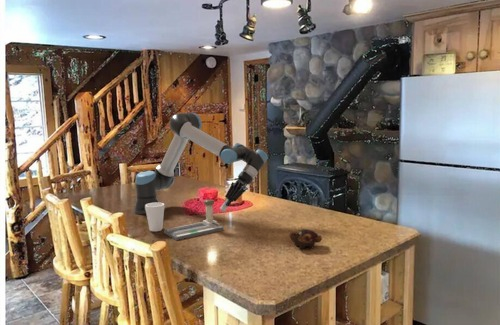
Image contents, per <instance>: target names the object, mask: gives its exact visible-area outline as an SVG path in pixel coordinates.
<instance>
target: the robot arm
mask: <svg viewBox="0 0 500 325" xmlns="http://www.w3.org/2000/svg"><path fill="white" fill-rule="evenodd" d="M202 125H203V122H202V119H201V117H200V115H198V114H197V113H194V112H179V113H178V112H177V113H175V114H173V115H172V116H171V118H170V119H169V129H170V130H171V132H172V133H173V134H174V135H173V138H172V140H171V142H170V144H169V146H168V148H167V150H166V152H165V154H164V156H163V159H162V161H161V162H160V164H158V165H157V166H156V168H155V170H154V171H153V170H147V171H141V172H138V173H137V174H135V190H136V191H135V193H136V194H135V195H136V200H135V205H134V207H133V210H134V212H133V213H135V214H137V215H138V214H139V215H147V214H146V210H145V205H146V204H149V203H156V202H157V203H160V202H159V200H158V197H157V192H158V191H159V192H160V191H163V190H167V189H169V188H170V187H172V186H173V185H174V182H175V172H174V170H175V168H176V166H177V164H178V162H179V160H180V158H181V156H182V154H183V152H184V150H185V148H186V146H187V144H188V143H189V142H188V141H191V142H192V143H194V144H196V145H198V146H200V147H201V148H203V149H205V150H207V151H208V152H210V153H212V154H214V155H216V156H217V157H218V158H220V160H221V161H222V162H223V163H224V164H233V163H235V162H241V161H243V162H245V163H246V164H245V166H244V167H243V169H242V170H241V171H240V173H239V174H238V176H237V178H238V179H237V180H236V181H235V182H233V181H232V182H231V183H230V187H229V189H228V190H227V192H226V194H225V196H224V197H225V200H224V202H223V203H222V205H221V206H220V207H219V210H221V211H222V212H223V213H225V212H226V210H227V209H228V208H229V207H230V206H231V204H232V203H233V202H236V201H238V200H239V198H241V196H243V194H244V193H245V192H246V191H247V190H248V189H249V187H248V185H250V184H251V183H252V182H253V180H254V179H255V177H256V176H257V175H258V173H259V171H260V170H261V169H262V168H263V166H264V164H265V163H266V162H267V160H268V158H269V157H268V156H269V155H268V154H267V153H266V152H265V151H263V150H262V149H257V150H256V151H254V150H252V149H251V148H248V147H247V146H245V145H243V144H241V143H239V142H236V143H235V144H234V145H233V146H230V145H228V144H226V143H225V142H223V141H221V140H219V139H217V138H215V137H213V136H212V135H210V134H208V133H206V132H204V131H203V130H201V129H202Z"/></svg>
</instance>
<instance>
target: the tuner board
mask: <svg viewBox="0 0 500 325" xmlns="http://www.w3.org/2000/svg"><path fill="white" fill-rule="evenodd" d="M217 225H218V226H216V225H214V224H213V225H208V226H205V225H203V221H202V222H196V223H191V224H186V225H181V226H176V227H171V228H167V229H164V230H163V233H164V234H165V235H167V236H168V237H170V238H171V237H172V238H171V239H173V240H174V241H178V240H179V239H180V240H185V239H189V238H194V237H198V236H202V235H207V234H211V233H216V232H220V231H224V228H225V227H224V226H222V225H220V223H218V222H217ZM184 238H185V239H184ZM180 240H179V241H180Z"/></svg>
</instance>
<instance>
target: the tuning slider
mask: <svg viewBox="0 0 500 325" xmlns="http://www.w3.org/2000/svg"><path fill="white" fill-rule="evenodd" d="M214 204H215V200H214V199H204V200H203V205H205V219H204V220H202V222H203V225H205V226H208V225H213V224H214V225H216V226H218V225H217V224H218V221H217V220H215V219H214V209H213V208H214Z"/></svg>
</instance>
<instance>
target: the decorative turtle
mask: <svg viewBox="0 0 500 325" xmlns="http://www.w3.org/2000/svg"><path fill="white" fill-rule="evenodd" d="M289 238H290V240H291V241H292V242H293V243H294V245H295V246H296V247H299V249H300V250H304V249H305V248H306V247H308V248H309V249H313V248H314V246H315V244H316V243H320V242H322V240H323V237H322V236H321V235H319V234H318V233H317V232H316V231H313V230H312V229H300V230H299V231H296V230H292V231H291V232H290V233H289ZM312 247H313V248H312Z"/></svg>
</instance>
